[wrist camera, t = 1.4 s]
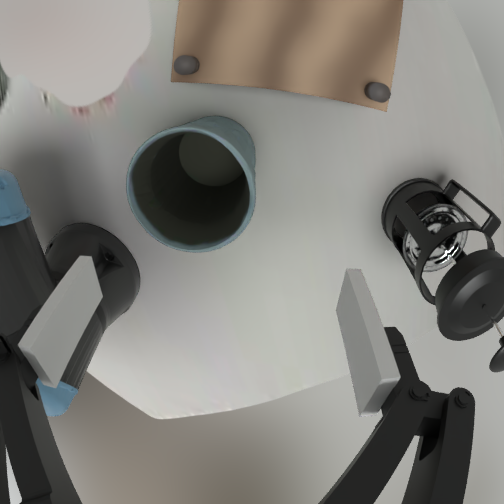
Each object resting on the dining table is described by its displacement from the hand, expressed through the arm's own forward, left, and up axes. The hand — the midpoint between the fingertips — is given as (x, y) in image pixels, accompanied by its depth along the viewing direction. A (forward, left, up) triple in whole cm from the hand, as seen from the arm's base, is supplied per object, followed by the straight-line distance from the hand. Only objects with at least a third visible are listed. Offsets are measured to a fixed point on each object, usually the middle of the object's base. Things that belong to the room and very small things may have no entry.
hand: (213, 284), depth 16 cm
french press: (+22, -2, -21) cm, 30 cm away
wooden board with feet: (+3, +18, -21) cm, 28 cm away
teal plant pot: (-3, +1, -21) cm, 22 cm away
